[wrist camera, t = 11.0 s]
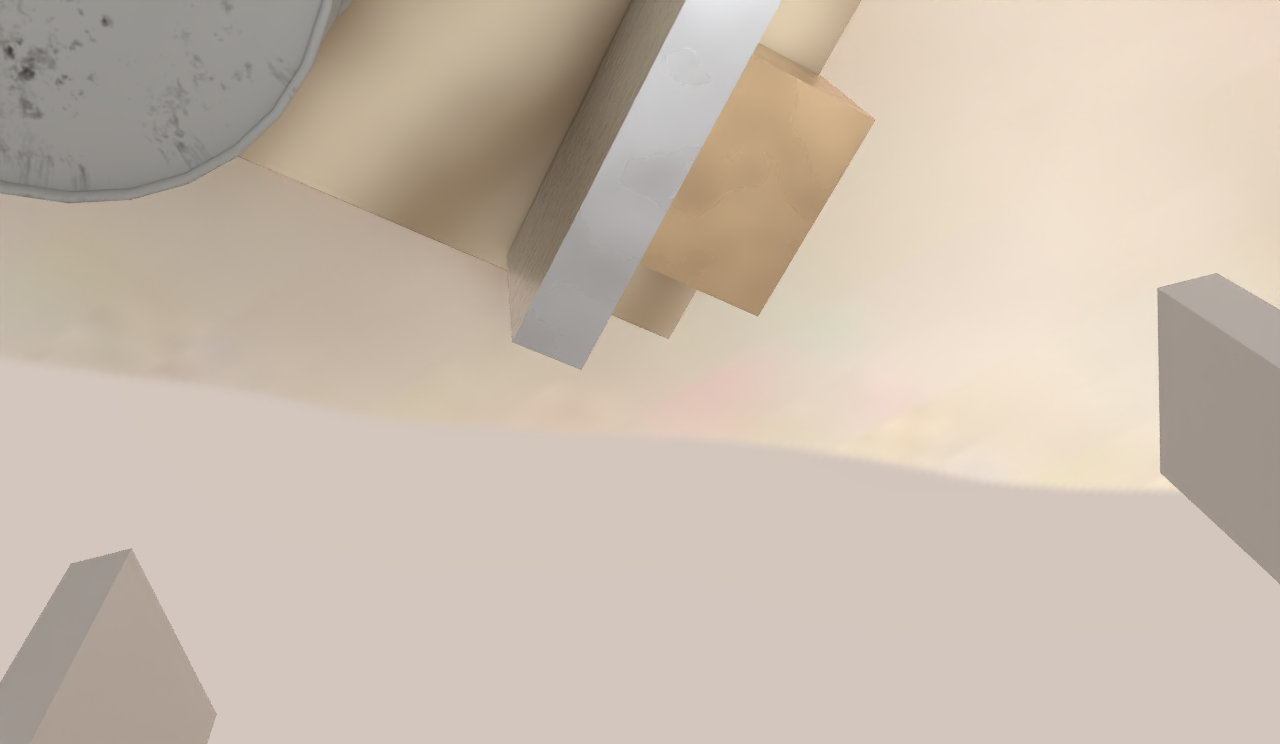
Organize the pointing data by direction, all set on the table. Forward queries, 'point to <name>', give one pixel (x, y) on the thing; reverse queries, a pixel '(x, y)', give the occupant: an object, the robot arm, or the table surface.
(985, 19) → the table surface
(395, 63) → the press
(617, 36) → the slide jaw
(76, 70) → the gray cylinder
